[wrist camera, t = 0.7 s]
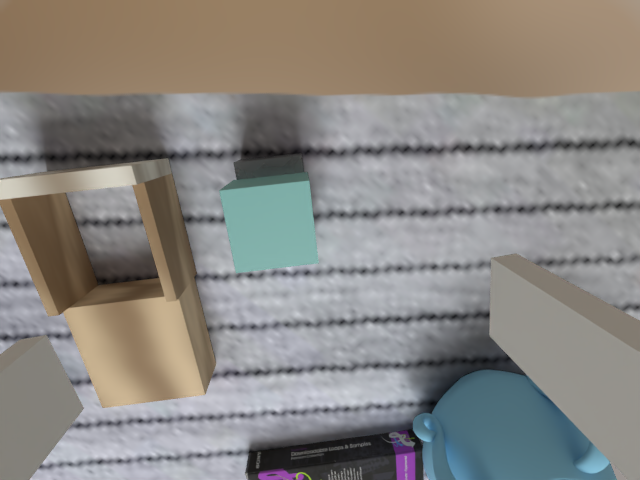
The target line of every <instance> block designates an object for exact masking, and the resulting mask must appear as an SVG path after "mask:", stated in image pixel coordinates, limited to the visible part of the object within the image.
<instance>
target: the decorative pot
mask: <svg viewBox="0 0 640 480" xmlns="http://www.w3.org/2000/svg"><path fill="white" fill-rule="evenodd" d="M413 431H414V433H415V434H416V435H417V437H419V438H420V439H421V440H423V441H424V442H423V449H422V458H423V465H424V469H425V471H426V474H427V476H428V478H429V480H617V479H616V476H615V474H614V471H613V469H612V466H611V464H610V461H609V460H608V459H607V458H606V457H605V456H604V455H603V454H602V453H601V452H600V451H599V450H598V449H597V447H596V446H595V445H594V444H593V443H592V442H591V441H590V440H589V439H588V438H587V437H586V436H585V435H584V434H583V433H582V432H581V431H580V430H579V429H578V428H577V427H576V426H575V425H574V424H573V422H572V421H571V420H570V419H569V418H568V417H567V416H566V415H565V414H564V413H563V412H562V411H561V410H560V409H559V408H558V407H557V406H556V405H555V404H554V403H553V402H552V401H551V400H550V399H549V397H548V396H547V395H546V394H545V393H544V392H543V391H542V390H541V389H540V388H539V387H538V386H537V385H536V384H535V383H534V382H533V381H532V380H531V379H530V378H529V377H528V376H527V375H526V376H524V375H520V374H516V373H511V372H505V371H499V370H479V371H475V372H472V373H470V374H467V375H465V376H463V377H461V378H460V379H459V380H458V381H457V382H456V383H455V384H454V385H453V386H452V387H451V388H450V389H449V390H448V391H447V392H446V393H445V394H444V395H443V396H442V398H441V399H440V400H439V402H438V403H437V405H436V406H435V408H434V410H433V412H432V414H430V413H422V414H419V415H418V416H416V417H415V418H414V420H413Z"/></svg>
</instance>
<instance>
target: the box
mask: <svg viewBox="0 0 640 480" xmlns="http://www.w3.org/2000/svg"><path fill="white" fill-rule="evenodd" d="M422 449H423V445H422V442H421V439H420V438H419V437H417V435H416V434H415V433H414V431H413V430H406V431H399V432H391V433H384V434H377V435H370V436H363V437H355V438H348V439H341V440H334V441H327V442H320V443H313V444H306V445H298V446H291V447H285V448H277V449H270V450H263V451H256V452H250V453H249V456H248V461H247V467H246V471H245V475H246V478H247V480H424V479H423V458H422Z"/></svg>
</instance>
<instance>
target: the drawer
mask: <svg viewBox="0 0 640 480" xmlns="http://www.w3.org/2000/svg"><path fill="white" fill-rule="evenodd" d="M129 185H132V186H133V189H134V192H135V196H136V199H137V203H138V206H139V210H140V213H141V216H142V220H143V223H144V227H145V230H146V234H147V237H148V241H149V244H150V247H151V251H152V254H153V258H154V261H155V265H156V268H157V271H158V275H159V278H154V279H146V280H137V281H129V282H121V283H112V284H104V285H98V282H97V280H96V277H95V274H94V271H93V268H92V266H91V263H90V260H89V257H88V255H87V252H86V249H85V246H84V244H83V241H82V238H81V235H80V232H79V230H78V227H77V224H76V221H75V219H74V216H73V213H72V210H71V208H70V205H69V202H68V199H67V196H66V194H65V192H74V191H83V190H93V189H102V188H111V187H120V186H129ZM0 206H1V208H2V210H3V213H4V215H5V217H6V219H7V222H8V224H9V226H10V229H11V231H12V233H13V236H14V238H15V240H16V243H17V245H18V247H19V250H20V252H21V254H22V256H23V259H24V261H25V263H26V266H27V268H28V270H29V273H30V275H31V277H32V280H33V282H34V284H35V287H36V289H37V291H38V293H39V296H40V298H41V300H42V303H43V305H44V307H45V310H46V312H47V314H48V316H56V315H60V314H61V313H64V316H65V318H66V320H67V323H68V325H69V328H70V330H71V332H72V335H73V337H74V340H75V342H76V345H77V347H78V349H79V352H80V354H81V357H82V359H83V361H84V364H85V366H86V369H87V371H88V374H89V376H90V378H91V381H92V383H93V386H94V388H95V391H96V393H97V395H98V398H99V400H100V403H101V405H102V407H103V408H107V407H114V406H122V405H130V404H138V403H145V402H153V401H161V400H168V399H176V398H184V397H192V396H199V395H205V394H206V391H207V388H208V385H209V383H210V380H211V377H212V374H213V371H214V369H215V366H216V361H215V357H214V353H213V349H212V346H211V342H210V338H209V334H208V330H207V326H206V322H205V318H204V314H203V310H202V306H201V302H200V298H199V294H198V290H197V286H196V282H195V278H194V277H195V275H196V274H197V272H196V268H195V264H194V260H193V256H192V252H191V248H190V244H189V240H188V236H187V232H186V228H185V224H184V220H183V216H182V212H181V208H180V204H179V200H178V196H177V192H176V188H175V184H174V180H173V175H172V171H171V167H170V163H169V159H168V158H166V159H157V160H148V161H139V162H129V163H120V164H111V165H102V166H93V167H83V168H74V169H65V170H56V171H47V172H40V173H34V174H27V175H21V176H14V177H8V178H1V179H0Z"/></svg>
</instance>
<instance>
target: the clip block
mask: <svg viewBox="0 0 640 480" xmlns="http://www.w3.org/2000/svg"><path fill="white" fill-rule="evenodd" d="M219 192H220V197H221V202H222V207H223V212H224V216H225V221H226V226H227V231H228V236H229V241H230V246H231V251H232V256H233V261H234V265H235V270H236V273H240V272H249V271H257V270H265V269H274V268H282V267H291V266H299V265H307V264H316V263H318V254H317V245H316V236H315V227H314V218H313V209H312V200H311V191H310V182H309V177H308V173H307V172H303V173H294V174H285V175H276V176H267V177H258V178H249V179H240V180H233V181H232V182H230V183H229V184H228V185H226V186H225V187H224V188H222V189H221V190H219Z"/></svg>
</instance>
